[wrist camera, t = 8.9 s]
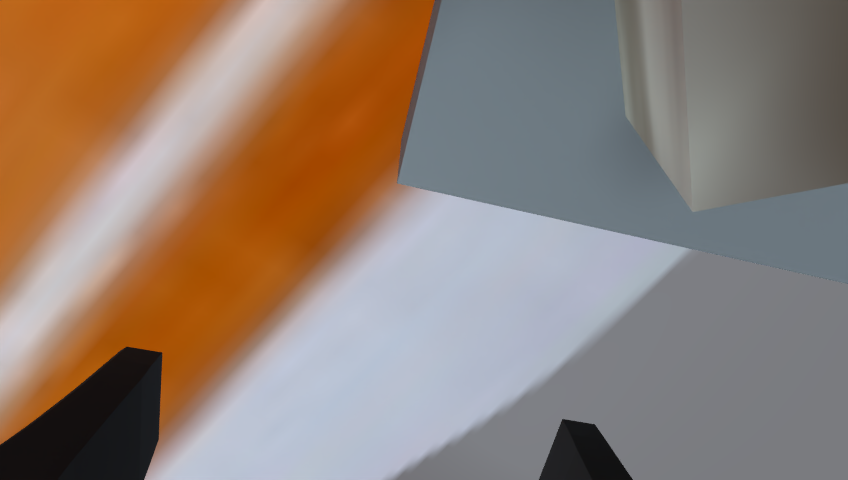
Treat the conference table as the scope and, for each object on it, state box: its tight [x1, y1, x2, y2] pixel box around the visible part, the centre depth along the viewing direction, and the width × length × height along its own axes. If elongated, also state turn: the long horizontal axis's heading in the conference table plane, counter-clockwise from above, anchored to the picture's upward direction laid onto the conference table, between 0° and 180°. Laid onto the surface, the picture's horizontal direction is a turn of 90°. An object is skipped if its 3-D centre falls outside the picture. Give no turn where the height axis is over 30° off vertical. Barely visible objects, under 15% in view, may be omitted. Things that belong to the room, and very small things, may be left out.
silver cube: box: [615, 0, 848, 212], centre depth 13 cm, size 5×5×5 cm
